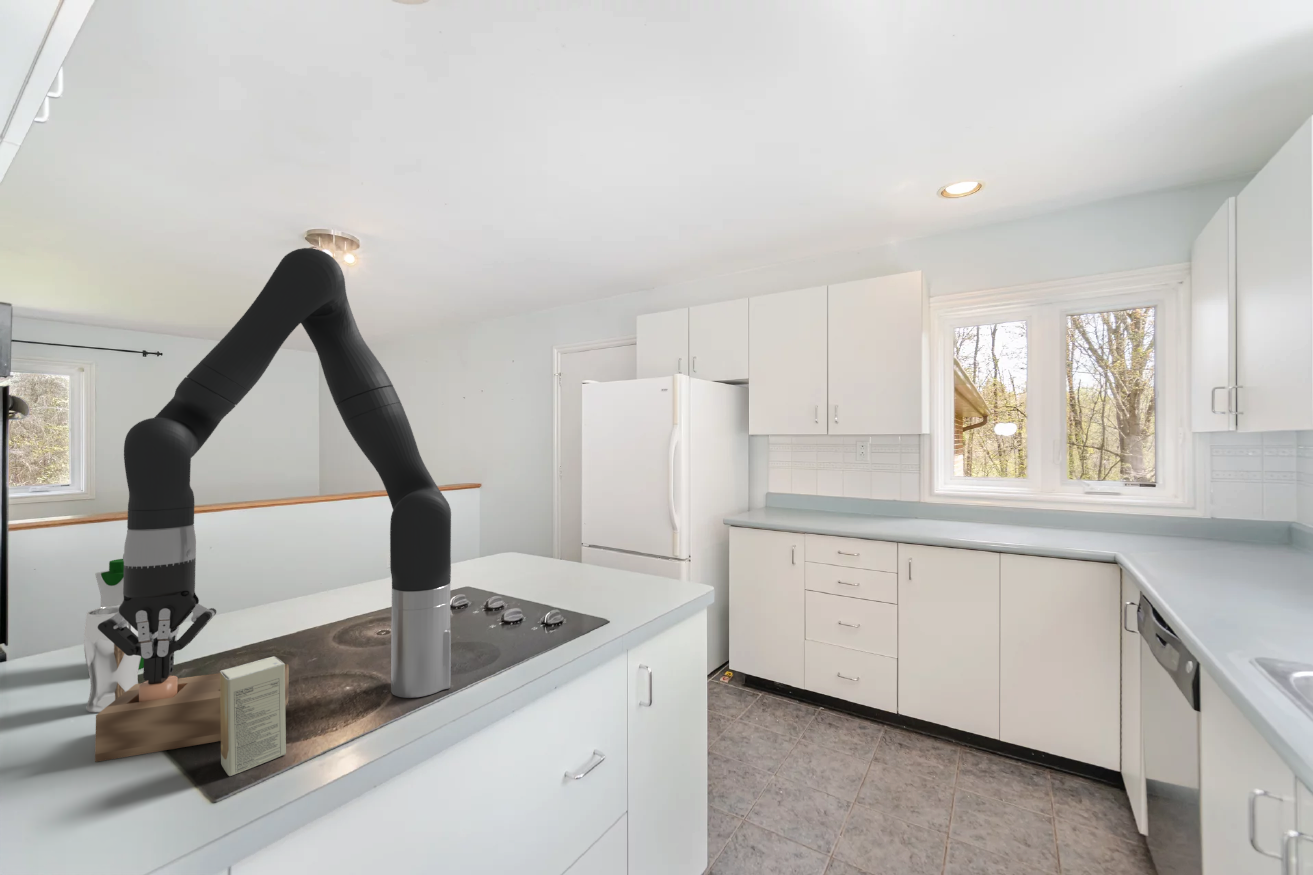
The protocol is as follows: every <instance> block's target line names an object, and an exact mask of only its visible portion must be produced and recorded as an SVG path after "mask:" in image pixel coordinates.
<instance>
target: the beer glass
mask: <svg viewBox="0 0 1313 875" xmlns="http://www.w3.org/2000/svg"><path fill="white" fill-rule="evenodd" d="M120 605H121V604H118V605H112V606H106V607H101V606H100V607H97V608H94V609H91V610H89V611H87V612H86V614H85V615H86V617H85V623H84V624H85V625H84V631H83V632H84V633H83V652H84V659H85V662H86V667H87V670H88V674H89V680H90V691H89V696H88V700H87V704H86V711H87V712H88V713H96V714H98V713H99V712H101V711H102V710H103V709H104V708H106V707H107V706H108V705H110V704H111V703H112V702H113V701H115V700H116V699H117V698H118V697H120V696H121V695H122V694H124V693H125V692H126V691H127V690H129V689H130V688H131V687H132V686H134V685H135V684H139V681H138V679H139V678H138V676H139V670H140V669H139V664H140V660H141V656H138V655H132V656H128V655H126V654H125V653H124V652H123V651H122V650H120V649H119V648H118V647H117V646H116V645H115V644H114V643H113V642H112V641H111V640H109V639H108V638H107V637H106V636H105V635H104V634H103V633H102V632H101V631H100V630H98V625H99V624H100V623H102V622H103V621H105V620H107V619H109V618H111V617H113V616H114V615H116V614H117V613H118V612H119V607H120ZM127 627H128V628H129V629H130V630H131V631H132V632H133V633H134V634H135V635H136V636H137V637H138V631H137V630H135V629H134V628H133V627H132V626H131V625H130V624H129V623H128V622H127ZM138 669H139V670H138Z"/></svg>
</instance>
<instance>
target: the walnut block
mask: <svg viewBox="0 0 1313 875" xmlns="http://www.w3.org/2000/svg"><path fill="white" fill-rule="evenodd" d="M289 666H290V665H289V664H285V708H286V707H287V705H288V704H289V691H290V690H289V689H290V688H289V687H290V686H289V685H290V684H289V682H290V680H289V678H290V677H289V675H290V674H289V670H290V667H289ZM140 684H141V682H140V683H138V684H135V685H134V686H132V687H131V688H130V689H129V690H127V691H126V692H125V693H124V694H122V695H121V696H120V697H118V698H117V699H116V700H115V701H113V702H112V703H111V704H110V705H108V706H107V707H106V708H104V709H103V710H102V711H101V712H98V713H96V715H95V740H94V741H95V742H94V743H95V744H94V746H95V749H94V750H95V751H94V762H95V763H98V762H103V761H110V760H116V759H122V758H126V757H133V756H134V757H135V756H139V755H144V754H145V755H146V754H152V753H156V752H163V751H167V750H169V751H170V750H175V749H180V748H185V747H186V748H187V747H192V746H197V745H198V746H199V745H205V744H209V743H210V744H211V743H215V742H216V743H217V742H221V713H220V672H217V673H212V674H203V675H195V676H187V677H179V678H178V684H177V694H176V695H175V696H174V697H172V698H165V699H158V700H151V701H144V702H139V685H140Z"/></svg>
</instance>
